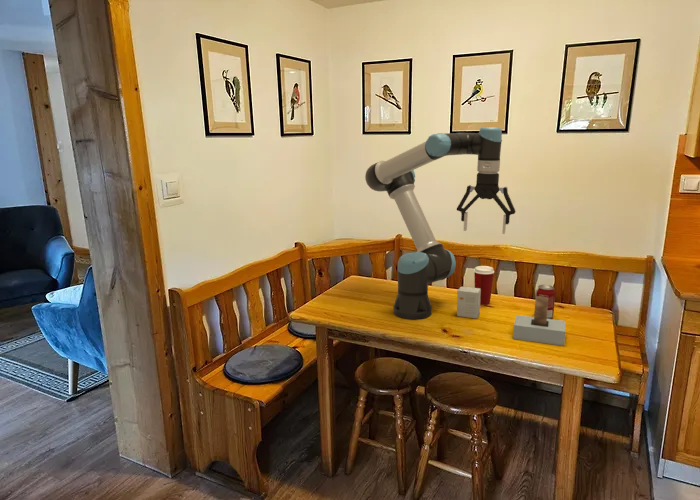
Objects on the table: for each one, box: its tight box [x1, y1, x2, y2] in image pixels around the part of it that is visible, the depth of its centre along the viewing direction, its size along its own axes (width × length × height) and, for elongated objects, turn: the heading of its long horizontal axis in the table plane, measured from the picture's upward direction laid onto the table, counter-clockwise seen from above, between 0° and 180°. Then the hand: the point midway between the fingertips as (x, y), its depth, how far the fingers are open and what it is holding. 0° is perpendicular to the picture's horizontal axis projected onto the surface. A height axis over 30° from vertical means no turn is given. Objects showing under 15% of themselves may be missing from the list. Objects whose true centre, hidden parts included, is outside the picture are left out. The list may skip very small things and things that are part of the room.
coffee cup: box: [472, 265, 495, 306], centre depth 196 cm, size 8×8×15 cm
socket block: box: [512, 314, 566, 347], centre depth 164 cm, size 16×10×5 cm, turn 67°
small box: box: [456, 286, 481, 319], centre depth 184 cm, size 8×6×10 cm
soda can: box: [534, 284, 556, 319], centre depth 180 cm, size 7×7×12 cm
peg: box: [533, 296, 548, 327], centre depth 163 cm, size 4×4×14 cm
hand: (484, 231), depth 172 cm, fingers open, 13 cm apart
